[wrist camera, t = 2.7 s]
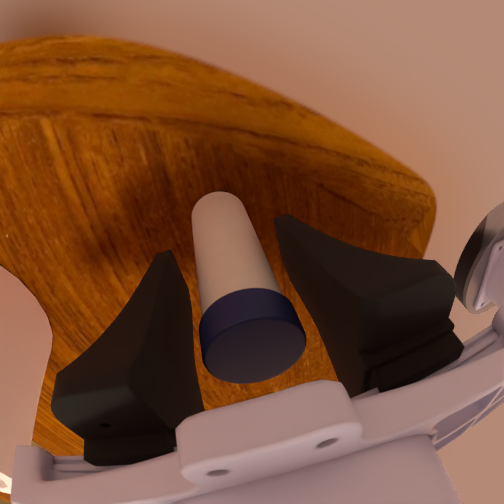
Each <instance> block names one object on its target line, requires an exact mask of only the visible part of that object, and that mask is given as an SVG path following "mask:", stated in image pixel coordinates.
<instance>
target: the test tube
mask: <svg viewBox="0 0 504 504" xmlns="http://www.w3.org/2000/svg"><path fill="white" fill-rule="evenodd" d="M192 229H193V240H194V250H195V260H196V269H197V278H198V287H199V295H200V303H201V311H202V318H201V321H200V324H199V336H200V344H201V352H202V359H203V363H204V365H205V367H206V369H207V370H208V371H209V372H210V373H211V374H212V375H213V376H215V377H216V378H218V379H220V380H223V381H226V382H230V383H240V384H245V383H255V382H260V381H264V380H267V379H270V378H273V377H275V376H277V375H279V374H281V373H283V372H285V371H286V370H288V369H289V368H290V367H292V366H293V365H294V364H295V363H296V362H297V361H298V360H299V358H300V357H301V356H302V354H303V352H304V349H305V346H306V334H305V331H304V329H303V327H302V325H301V322H300V320H299V318H298V316H297V313H296V311H295V309H294V307H293V305H292V303H291V302H290V301H289V300H288V299H287V298H286V297H285V296H283V294H282V292H281V290H280V287H279V285H278V283H277V281H276V278H275V276H274V274H273V271H272V269H271V267H270V265H269V262H268V260H267V258H266V255H265V253H264V251H263V249H262V246H261V244H260V242H259V239H258V237H257V235H256V233H255V230H254V228H253V226H252V224H251V221H250V219H249V217H248V215H247V212H246V210H245V208H244V206H243V204H242V202H241V201H240V200H239V199H238V198H237V197H236V196H235V195H233V194H231V193H228V192H212V193H209V194H207V195H205V196H203V197H202V198H201V199H200V200H199V201H198V202H197V203H196V204H195V206H194V208H193V211H192Z"/></svg>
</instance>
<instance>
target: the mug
mask: <svg viewBox="0 0 504 504" xmlns="http://www.w3.org/2000/svg"><path fill="white" fill-rule="evenodd" d="M52 337H53V334H52V330H51V327H50V324H49V320H48V317H47V315H46V313H45V312H44V310H43V309H42V307H41V305H40V304H39V302H38V300H37V299H36V297H35V296H34V295H33V294H32V293H31V292H30V291H29V290H28V289H27V288H26V287H25V285H24V284H23V283H22V282H21V281H20V280H19V279H18V278H17V277H15V276H14V275H13V274H11V273H10V272H9V271H7V270H6V269H5V268H3V267H2V266H1V265H0V491H1V492H5V493H8V494H11V485H12V475H13V466H14V458H15V451H16V446H18V445H21V446H31V442H32V436H33V429H34V423H35V418H36V412H37V407H38V402H39V397H40V392H41V388H42V383H43V379H44V375H45V371H46V367H47V363H48V359H49V355H50V352H51V347H52Z"/></svg>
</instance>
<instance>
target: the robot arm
mask: <svg viewBox="0 0 504 504" xmlns="http://www.w3.org/2000/svg"><path fill="white" fill-rule="evenodd" d="M273 219H274V224H275V228H276V233H277V238H278V243H279V248H280V253H281V258H282V262H283V264H284V266H285V269H286V271H287V274H288V276H289V278H290V281H291V282H292V284H293V286H294V288H295V289H296V291H297V293H298V294H299V296H300V298H301V300H302V301H303V303H304V305H305V307H306V308H307V310H308V312H309V313H310V315H311V317H312V319H313V321H314V323H315V324H316V326H317V328H318V331H319V333H320V335H321V338H322V340H323V343H324V345H325V347H326V350H327V352H328V355H329V357H330V360H331V362H332V365H333V367H334V370H335V372H336V375H337V378H338V380H339V382H336V381H329V380H318V381H313V382H308V383H303V384H300V385H297V386H294V387H291V388H287V389H284V390H281V391H278V392H275V393H271V394H268V395H265V396H261V397H258V398H254V399H250V400H247V401H243V402H239V403H236V404H232V405H228V406H224V407H220V408H215V409H211V410H207V411H205V410H204V406H203V401H202V397H201V392H200V388H199V383H198V377H197V372H196V366H195V358H194V342H193V321H192V307H191V301H190V295H189V289H188V287H187V284H186V282H185V280H184V278H183V275H182V273H181V271H180V269H179V266H178V264H177V262H176V260H175V257H174V255H173V253H172V250H168V251H165V252H162V253H158V254H157V255H156V256H155V258H154V259H153V261H152V263H151V265H150V266H149V268H148V270H147V272H146V274H145V275H144V277H143V279H142V280H141V282H140V284H139V286H138V287H137V289H136V290H135V292H134V293H133V295H132V297H131V298H130V300H129V301H128V303H127V304H126V306H125V307H124V309H123V310H122V311H121V313H120V314H119V315H118V316H117V318H116V319H115V320H114V322H113V323H112V324H111V325H110V326H109V327H108V328H107V329H106V331H105V332H104V333H103V334H102V335H101V336H100V337H99V338H98V339H97V340H96V341H95V342H94V343H93V344H92V345H91V346H90V347H89V348H88V349H87V350H86V351H85V352H84V353H83V354H81V355H80V356H79V357H78V358H77V359H76V360H74V361H73V362H72V363H71V364H69V365H68V366H67V367H65V368H64V369H63V370H62V371H60V372H59V373H57V376H56V381H55V385H54V391H53V396H52V401H51V410H52V412H53V414H54V415H55V417H56V418H57V419H58V420H59V421H60V422H61V423H62V424H64V425H65V426H66V427H68V428H69V429H70V430H72V431H73V432H74V433H76V434H77V435H79V436H80V437H81V438H83V439H84V456H53V455H52V454H51V453H49V452H48V451H46V450H45V449H43V448H40V447H37V446H21V445H18V446H16V451H15V458H14V466H13V475H12V485H11V500H10V501H11V502H12V503H13V504H463V503H462V501H461V499H460V497H459V495H458V492H457V490H456V488H455V487H454V484H453V482H452V480H451V478H450V476H449V474H448V472H447V470H446V468H445V466H444V464H443V463H442V461H441V459H440V457H439V455H438V453H437V451H439V450H440V449H442V448H443V447H445V446H446V445H448V444H449V443H451V442H452V441H454V440H455V439H456V438H458V437H459V436H461V435H462V434H463V433H465V432H466V431H468V430H469V429H470V428H472V427H473V426H474V425H476V424H477V423H478V422H480V421H481V420H482V419H484V418H485V417H486V416H487V415H489V414H490V413H491V412H492V411H494V410H495V409H496V408H497V407H498V406H499V405H501V404H502V403H503V402H504V239H503V240H501V241H499V242H497V243H495V244H494V245H493V247H492V250H491V254H490V257H489V261H488V264H487V268H486V271H485V275H484V278H483V281H482V284H481V287H480V290H479V293H478V296H477V299H476V302H475V305H474V309H475V310H478V309H480V308H482V307H483V306H485V305H487V304H488V303H490V302H491V301H493V302H494V304H495V305H496V306H497V307H498V308H499V310H498V311H497V312H496V314H495V316H494V318H493V321H492V325H490V326H489V327H488V328H486V329H485V330H483V331H481V332H480V333H478V334H477V335H475V336H474V337H472V338H470V339H469V340H467V341H465V342H464V343H462V342H461V341H460V340H459V338H458V337H457V336H456V335H455V333H454V332H453V331H452V330H453V329H454V324H453V323H452V321H451V320H450V319H449V315H450V311H451V308H452V305H453V302H454V298H455V293H456V283H455V280H454V279H453V278H452V276H451V275H450V274H449V273H447V271H446V270H445V269H444V268H443V267H442V266H441V265H440V264H439V263H438V262H436V261H435V260H424V259H410V258H403V257H396V256H390V255H385V254H381V253H377V252H373V251H368V250H365V249H362V248H358V247H356V246H353V245H350V244H347V243H344V242H342V241H339V240H337V239H335V238H333V237H330V236H328V235H326V234H324V233H322V232H320V231H318V230H316V229H314V228H312V227H310V226H309V225H307V224H305V223H303V222H301V221H300V220H298V219H296V218H294V217H293V216H291V215H289V214H287V215H284V216H280V217H277V218H273Z"/></svg>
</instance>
